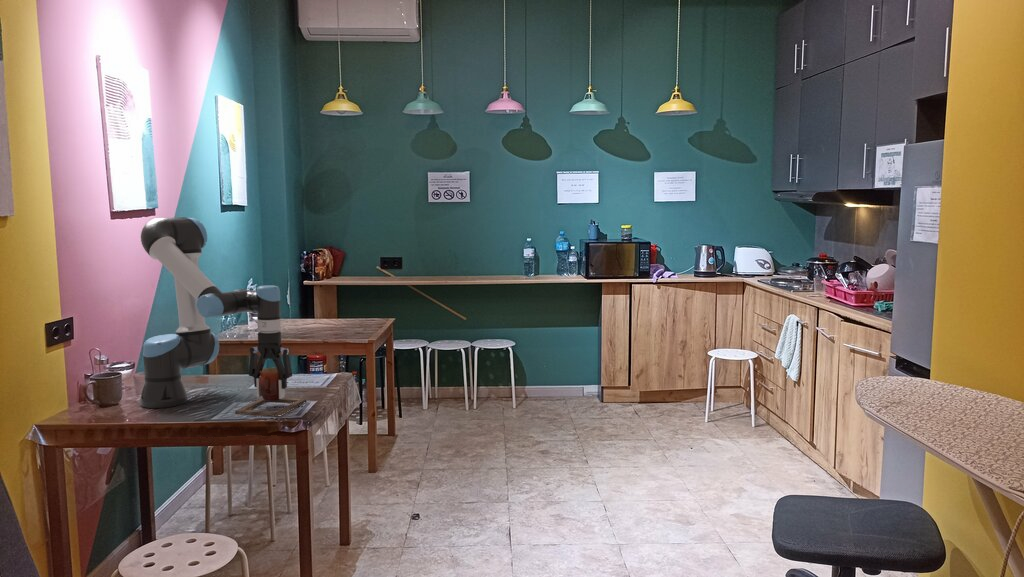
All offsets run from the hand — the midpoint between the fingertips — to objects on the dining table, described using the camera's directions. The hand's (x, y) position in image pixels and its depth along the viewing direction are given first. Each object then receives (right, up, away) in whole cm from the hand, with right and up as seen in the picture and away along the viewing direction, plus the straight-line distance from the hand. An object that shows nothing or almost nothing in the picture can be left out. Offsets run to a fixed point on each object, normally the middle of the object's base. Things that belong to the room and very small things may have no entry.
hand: (270, 397), depth 258 cm
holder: (0, -4, 0) cm, 4 cm away
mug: (0, -1, 0) cm, 1 cm away
